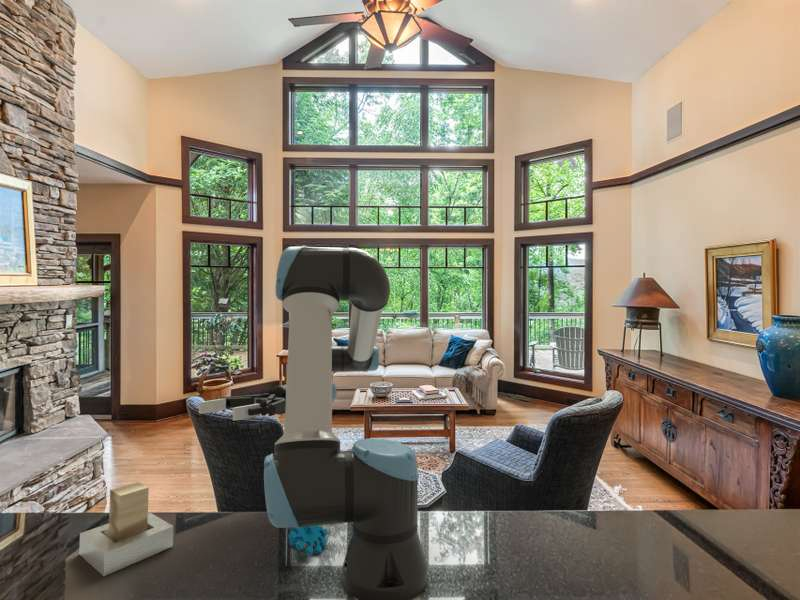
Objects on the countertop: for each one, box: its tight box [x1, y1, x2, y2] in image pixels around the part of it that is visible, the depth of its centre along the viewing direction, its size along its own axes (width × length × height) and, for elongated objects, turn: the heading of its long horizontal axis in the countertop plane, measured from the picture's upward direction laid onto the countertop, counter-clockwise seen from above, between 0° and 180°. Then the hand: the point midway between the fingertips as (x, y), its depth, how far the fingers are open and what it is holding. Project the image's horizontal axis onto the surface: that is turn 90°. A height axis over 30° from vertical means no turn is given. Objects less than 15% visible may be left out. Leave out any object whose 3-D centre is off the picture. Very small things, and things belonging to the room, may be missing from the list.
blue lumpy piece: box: [285, 525, 328, 556], centre depth 84 cm, size 11×6×10 cm
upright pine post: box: [108, 481, 150, 543], centre depth 82 cm, size 5×5×12 cm
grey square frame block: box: [78, 511, 174, 577], centre depth 82 cm, size 12×12×4 cm
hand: (215, 411), depth 94 cm, fingers open, 13 cm apart
